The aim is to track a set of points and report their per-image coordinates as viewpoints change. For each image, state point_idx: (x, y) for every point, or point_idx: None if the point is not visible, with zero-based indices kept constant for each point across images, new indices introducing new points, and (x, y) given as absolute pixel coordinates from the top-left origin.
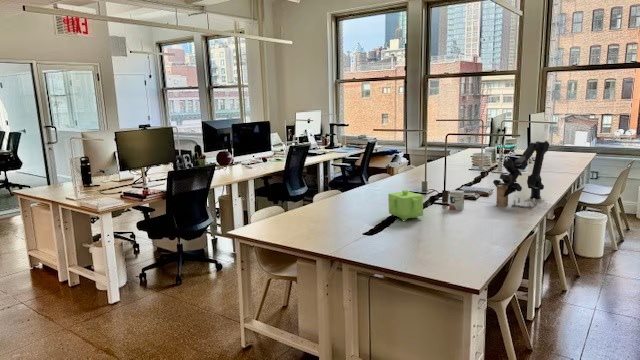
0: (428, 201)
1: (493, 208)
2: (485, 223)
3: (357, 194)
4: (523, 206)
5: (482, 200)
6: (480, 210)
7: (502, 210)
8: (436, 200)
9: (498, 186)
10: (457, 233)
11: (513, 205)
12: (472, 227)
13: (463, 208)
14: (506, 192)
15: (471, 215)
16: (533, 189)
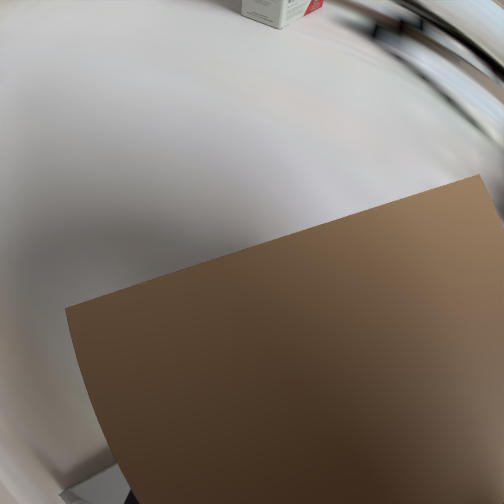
0: (454, 30)
1: (179, 183)
2: (7, 59)
3: (499, 11)
4: (98, 473)
5: None
6: (176, 74)
7: (79, 221)
8: (476, 57)
9: (401, 203)
10: (25, 7)
11: None
12: (20, 28)
13: (263, 20)
14: None
15: (115, 24)
16: None
